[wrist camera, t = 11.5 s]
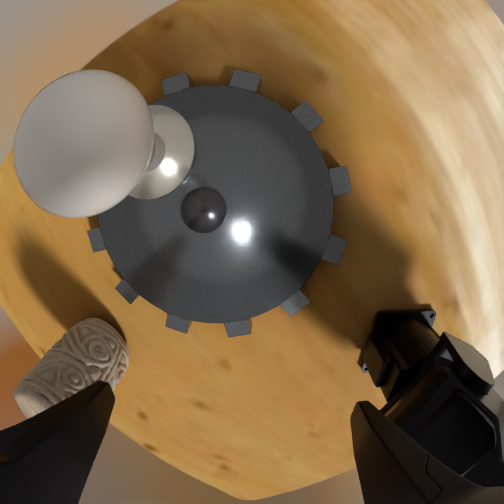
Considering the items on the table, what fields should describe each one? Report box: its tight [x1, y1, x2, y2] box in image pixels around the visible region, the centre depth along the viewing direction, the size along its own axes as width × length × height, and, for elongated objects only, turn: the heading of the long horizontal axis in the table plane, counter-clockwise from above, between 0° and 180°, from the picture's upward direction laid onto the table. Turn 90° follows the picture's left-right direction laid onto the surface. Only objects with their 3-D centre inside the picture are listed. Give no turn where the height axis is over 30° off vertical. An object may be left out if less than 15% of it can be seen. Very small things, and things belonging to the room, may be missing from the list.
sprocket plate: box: [87, 69, 352, 337], centre depth 18 cm, size 19×19×2 cm
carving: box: [14, 318, 130, 419], centre depth 18 cm, size 6×8×12 cm
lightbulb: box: [13, 69, 165, 218], centre depth 11 cm, size 6×6×11 cm
